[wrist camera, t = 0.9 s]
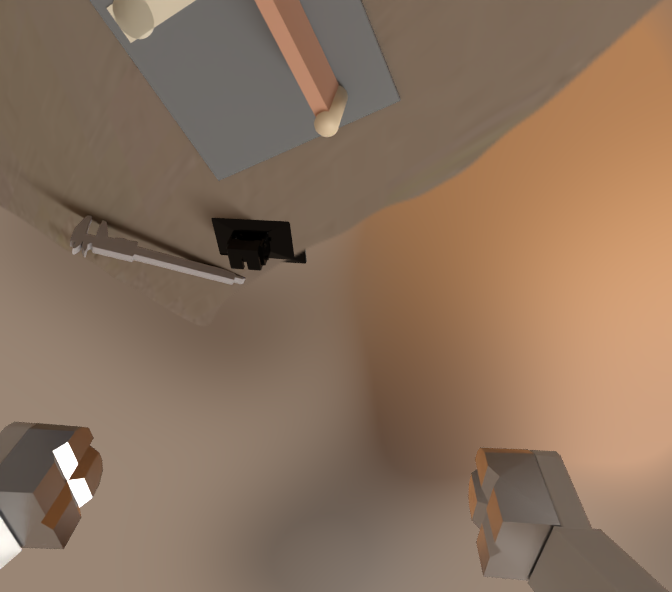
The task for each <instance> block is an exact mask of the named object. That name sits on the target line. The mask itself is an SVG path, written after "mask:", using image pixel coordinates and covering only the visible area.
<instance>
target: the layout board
mask: <svg viewBox="0 0 672 592" xmlns="http://www.w3.org/2000/svg"><path fill="white" fill-rule="evenodd" d="M299 1H300V3H301V5H302V7H303V10H304V12H305V14H306V16H307V18H308V20H309V22H310V24H311V27H312V29H313V31H314V33H315V35H316V37H317V39H318V41H319V44H320V46H321V48H322V50H323V52H324V54H325V56H326V58H327V61H328V63H329V65H330V67H331V69H332V71H333V73H334V75H335V78H336V80H337V82H338V84H339V85H340V86H342V87H343V88H344V89H345V90H346V91H347V94H348V99H347V103H346V106H345V109H344V112H343V115H342V118H341V121H340V125H339V127H342V126H344V125H346V124H349V123H351V122H353V121H355V120H358V119H360V118H362V117H364V116H367V115H369V114H371V113H373V112H376V111H378V110H380V109H383V108H385V107H387V106H389V105H392V104H394V103H396V102H398V101H400V96H399V94H398V91H397V89H396V86H395V84H394V81H393V79H392V76H391V74H390V71H389V69H388V66H387V64H386V61H385V59H384V56H383V54H382V51H381V49H380V46H379V44H378V41H377V39H376V36H375V34H374V31H373V29H372V26H371V24H370V21H369V18H368V16H367V13H366V11H365V8H364V6H363V3H362V1H361V0H299ZM90 2H91V3H92V4H93V6H94V7H95V9H96V10H97V11H98V13H99V14H100V16H101V17H102V18H103V20H104V21H105V23H106V24H107V25H108V27H109V28H110V30H111V31H112V32H113V34H114V35H115V37H116V38H117V39H118V41H119V42H120V44H121V45H122V46H123V48H124V49H125V51H126V52H127V53H128V55H129V56H130V58H131V59H132V60H133V62H134V63H135V65H136V66H137V67H138V69H139V70H140V72H141V73H142V74H143V76H144V77H145V79H146V80H147V81H148V83H149V84H150V85H151V87H152V88H153V90H154V91H155V92H156V94H157V95H158V97H159V98H160V99H161V101H162V102H163V104H164V105H165V106H166V108H167V109H168V111H169V112H170V113H171V115H172V116H173V118H174V119H175V120H176V122H177V123H178V125H179V126H180V127H181V129H182V130H183V132H184V133H185V134H186V136H187V137H188V139H189V140H190V141H191V143H192V144H193V146H194V147H195V148H196V150H197V151H198V153H199V154H200V155H201V157H202V158H203V160H204V161H205V162H206V164H207V165H208V167H209V168H210V169H211V171H212V172H213V174H214V175H215V176H216V178H217V179H218V181H219V180H221V179H224V178H226V177H228V176H231V175H233V174H235V173H237V172H240V171H242V170H244V169H246V168H249V167H251V166H253V165H256V164H258V163H260V162H262V161H265V160H267V159H269V158H271V157H274V156H276V155H278V154H280V153H283V152H285V151H287V150H290V149H292V148H294V147H296V146H299V145H301V144H303V143H305V142H308V141H310V140H312V139H314V138H317V137H319V136H321V135H320V134H318V133H317V131H316V130H315V127H314V121H315V118H316V117H315V115H314V113H313V111H312V109H311V107H310V105H309V104H308V102H307V100H306V98H305V96H304V94H303V92H302V90H301V88H300V86H299V84H298V82H297V81H296V79H295V77H294V75H293V73H292V71H291V69H290V67H289V65H288V63H287V61H286V60H285V58H284V56H283V54H282V52H281V50H280V48H279V46H278V44H277V42H276V40H275V38H274V37H273V35H272V33H271V31H270V29H269V27H268V25H267V23H266V21H265V19H264V17H263V15H262V14H261V12H260V10H259V8H258V6H257V4H256V2H255V0H90Z"/></svg>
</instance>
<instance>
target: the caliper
mask: <svg viewBox="0 0 672 592" xmlns="http://www.w3.org/2000/svg"><path fill="white" fill-rule="evenodd" d="M91 222H92V216H86V217H85V218H84V219H83V220H82V221H81V222H80V223H79V224H78V225H77V226H76V227H75V229H74V231H73V234H72V237H71V239H70V246H71V247H73V254H76V253H78V252H79V251H80V250H81V247H82V254H83V256H84V257H86V254H87V250H89V249H92V252H93V253H96V254H100V255H105V256H109V257H113V258H117V259H121V260H125V261H130V262H132V261H133V260H136V261H140V262H144V263H148V264H152V265H156V266H160V267H164V268H168V269H172V270H175V271H179V272H183V273H187V274H191V275H195V276H199V277H203V278H207V279H211V280H215V281H219V282H223V283H227V284H231V285H232V284H233V282H235V283H238V284H241V283H242V284H243V283H244V280H245V277H242V276H238V275H235V273H232V272H230V271H227V270H225V269H222V268H218V267H214V266H210V265H206V264H202V263H198V262H194V261H191V260H187V259H183V258H179V257H175V256H171V255H168V254H164V253H160V252H156V251H153V250H149V249H145V248H141V247H137V243H138V242H136V241H130V240H127V239H125V238H111V237H108V230H107V222H106V221H104V220H102V223H101V224H100V226H99V229H98V231H97V235H96V236H95V235H91V234H87V232H88V229H89V227H90V224H91Z"/></svg>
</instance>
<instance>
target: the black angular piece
mask: <svg viewBox="0 0 672 592" xmlns="http://www.w3.org/2000/svg"><path fill="white" fill-rule="evenodd" d="M212 223H213V227H214V231H215V235H216V239H217V243H218V247H219V251H220V254H221V255H228V257H229V261H230V265H231V268H233V269H244V267H245V266H244V262H247V266H248V269H249V270H261V269H262V266H263V265H266V262H267V260H269V258H276V259H287V260H285V261H283V262H286V263H302V264H305V263H306V262H307V258H306V249H305V250H304V251H301V252H300V253H298V254H296V255H294V251H293V244H292V236H291V229H290V223H289V222H284V221H264V220H244V219H225V218H212Z"/></svg>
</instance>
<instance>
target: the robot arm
mask: <svg viewBox="0 0 672 592" xmlns="http://www.w3.org/2000/svg"><path fill="white" fill-rule="evenodd" d="M92 440H93V436H92V434H91V431H90V429H89V428H88V427H77V426H65V425H52V424H40V423H25V422H13V423H12V424H10V425H8V426H6V427H5V428H4V429H3V430H2V431H1V433H0V569H1V568H2V567H3V566H4V565H5V564H7V563H8V562H9V561H10V560H11V559H12V558H14V557H15V556H16V555H17V554H18V553H19V552H21V551H22V549H21V548H46V549H48V548H49V549H64V548H65V546H66V544H67V542H68V541H69V539H70V537H71V535H72V533H73V532H74V530H75V528H76V526H77V525H78V522H79V521H80V519H81V512H80V506H82V505H83V504H84V503H86V502H87V501H89V500H90V499H91V498H93V496H94V494H95V492H96V489H97V488H98V486H99V484H100V480H101V476H102V472H103V467H102V466H103V465H102V458H101V456H100V453H99V452H98V451H97V450H95V449H94V448H93V447H92V446H90V444H91V442H92ZM475 462H476V466H477V470H475V471H474V472H472V473H471V476H470V481H469V494H468V499H469V507H470V514H471V519H472V521H473V522H474V523H475V525H477V527H478V528H479V529H480V531H479V534H478V538H477V541H476V543H477V548H478V553H479V557H480V563H481V567H482V572H483V576H485V577H495V578H506V579H517V580H527V581H528V584H529V585H530V587H531V588H532V589H533V591H534V592H669V591H668V590H667V589H666V588H664V587H663V586H662V585H661V584H660V583H659V582H658V581H657V580H656V579H654V578H653V577H652V576H651V575H650V574H649V573H648V572H647V571H646V570H645V569H644V568H642V567H641V566H640V565H639V564H638V563H637V562H636V561H635V560H634V559H632V558H631V557H630V556H629V555H628V554H627V553H626V552H625V551H624V550H623V549H622V548H620V547H619V546H618V545H617V544H616V543H615V542H614V541H613V540H612V539H611V538H609V537H608V536H607V535H606V534H605V533H604V532H603V531H602V530H601V529H592V527H591V524H590V522H589V520H588V518H587V515H586V513H585V511H584V508H583V507H582V504H581V502H580V499H579V497H578V495H577V492H576V490H575V488H574V485H573V483H572V481H571V479H570V476H569V474H568V472H567V470H566V467H565V465H564V463H563V460H562V458H561V456H560V455H559V454H558V453H557V452H556V451H540V450H539V451H538V450H528V449H506V448H481V447H480V448H479V450H478V451H477V454H476V457H475Z"/></svg>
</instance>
